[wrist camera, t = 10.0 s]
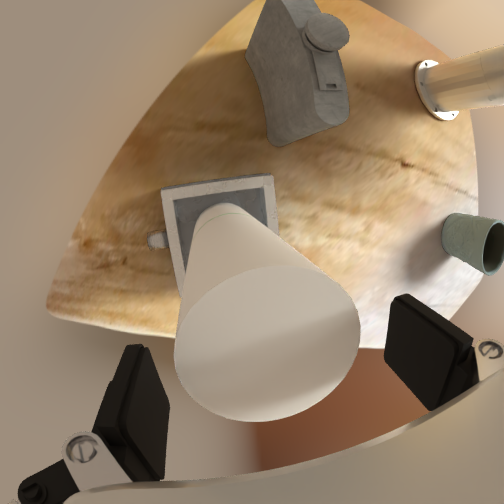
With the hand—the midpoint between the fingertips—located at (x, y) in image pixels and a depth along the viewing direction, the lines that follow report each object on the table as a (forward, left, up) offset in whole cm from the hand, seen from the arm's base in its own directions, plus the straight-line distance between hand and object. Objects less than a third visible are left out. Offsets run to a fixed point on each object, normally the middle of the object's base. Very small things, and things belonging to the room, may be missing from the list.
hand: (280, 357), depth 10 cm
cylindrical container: (0, 0, -25) cm, 25 cm away
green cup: (-45, +7, -30) cm, 54 cm away
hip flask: (-9, -18, -30) cm, 36 cm away
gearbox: (+2, 0, -30) cm, 30 cm away
